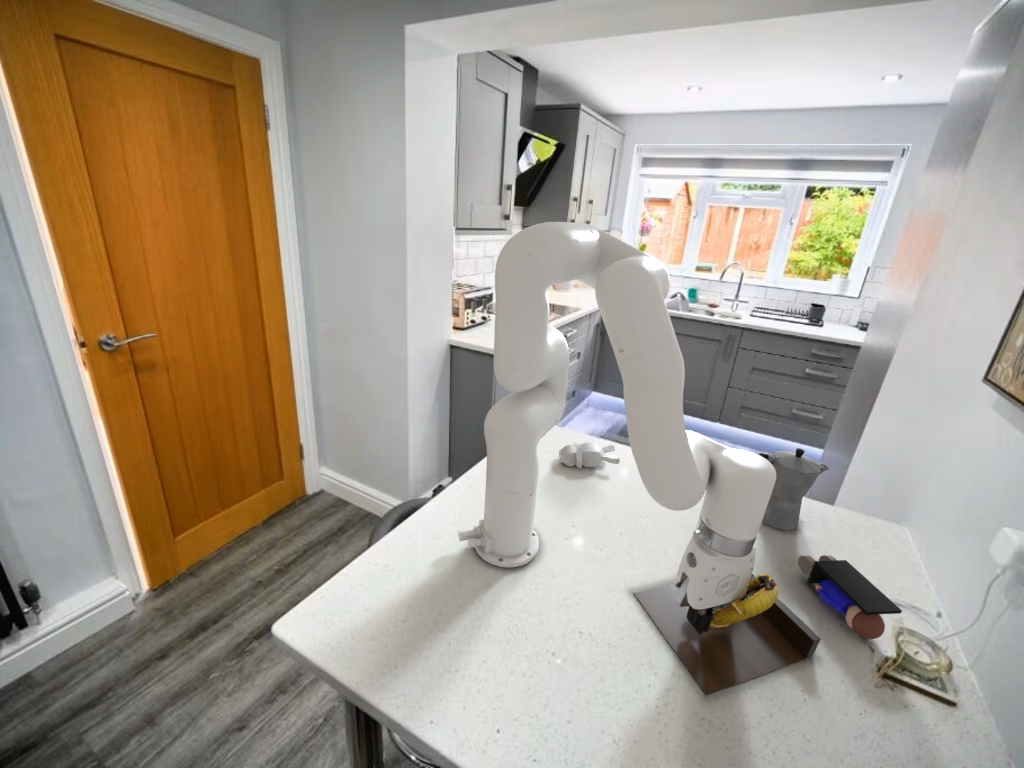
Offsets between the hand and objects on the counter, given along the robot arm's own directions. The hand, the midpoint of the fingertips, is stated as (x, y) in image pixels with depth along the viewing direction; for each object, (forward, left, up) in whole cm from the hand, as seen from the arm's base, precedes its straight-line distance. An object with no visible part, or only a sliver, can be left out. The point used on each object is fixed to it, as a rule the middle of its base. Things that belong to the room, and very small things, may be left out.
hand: (696, 624), depth 69 cm
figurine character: (+29, -2, -2) cm, 29 cm away
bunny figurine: (+7, +50, -2) cm, 50 cm away
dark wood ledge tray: (+5, +1, -2) cm, 5 cm away
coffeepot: (+38, +20, -2) cm, 43 cm away
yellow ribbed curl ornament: (+5, +1, -2) cm, 6 cm away
